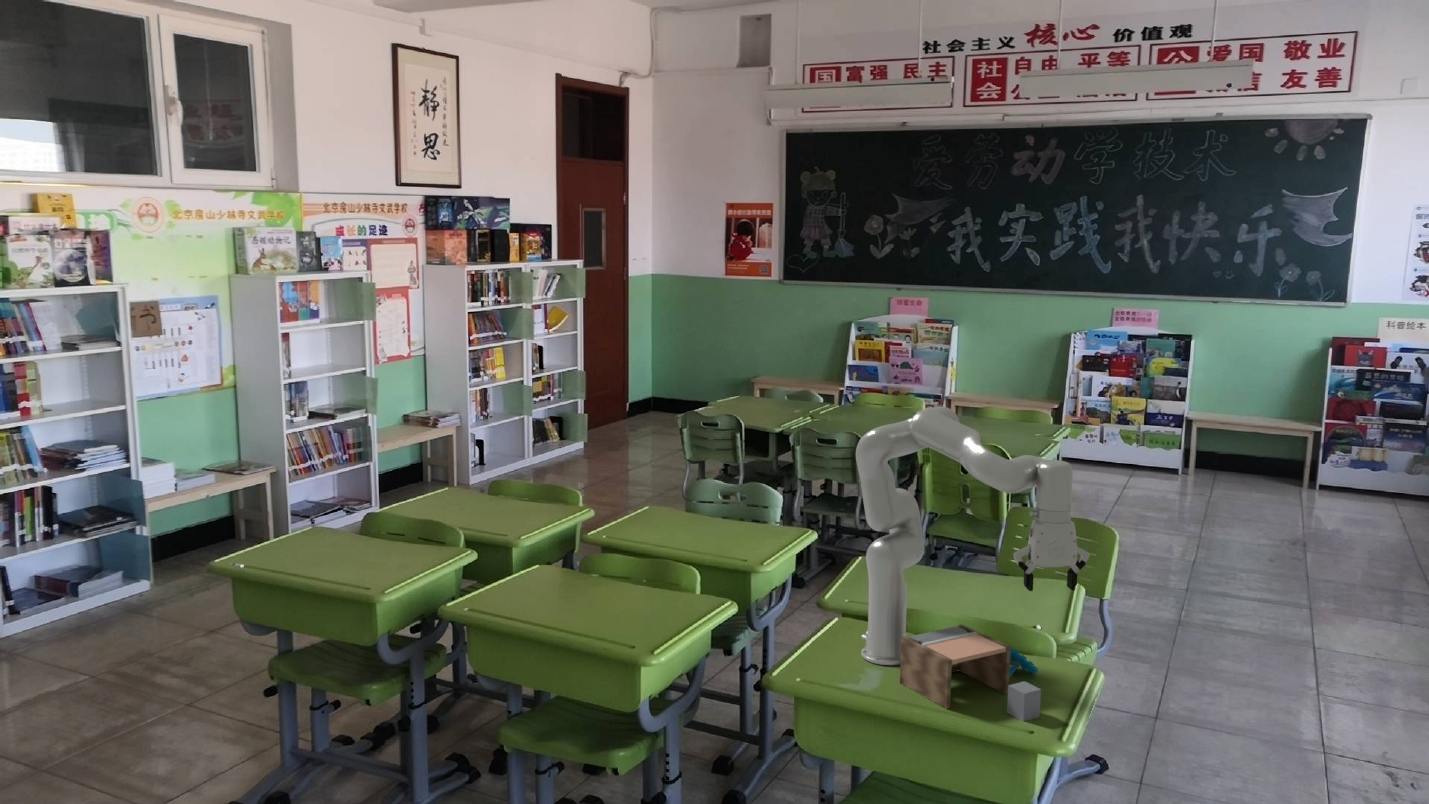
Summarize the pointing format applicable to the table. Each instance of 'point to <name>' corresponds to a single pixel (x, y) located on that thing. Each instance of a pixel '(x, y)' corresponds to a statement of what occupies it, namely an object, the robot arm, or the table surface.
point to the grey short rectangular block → (1023, 701)
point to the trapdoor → (958, 644)
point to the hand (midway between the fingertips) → (1049, 589)
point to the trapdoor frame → (949, 669)
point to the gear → (1020, 663)
